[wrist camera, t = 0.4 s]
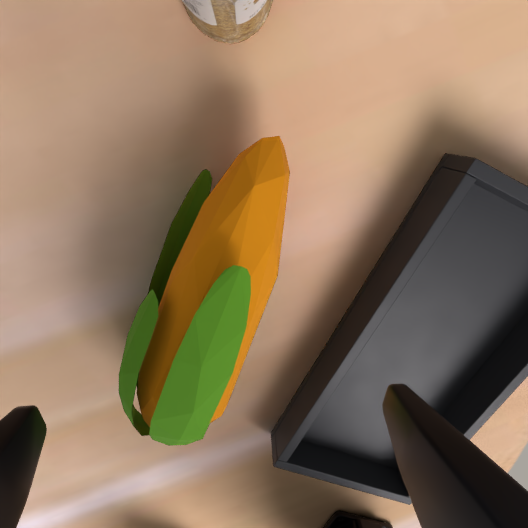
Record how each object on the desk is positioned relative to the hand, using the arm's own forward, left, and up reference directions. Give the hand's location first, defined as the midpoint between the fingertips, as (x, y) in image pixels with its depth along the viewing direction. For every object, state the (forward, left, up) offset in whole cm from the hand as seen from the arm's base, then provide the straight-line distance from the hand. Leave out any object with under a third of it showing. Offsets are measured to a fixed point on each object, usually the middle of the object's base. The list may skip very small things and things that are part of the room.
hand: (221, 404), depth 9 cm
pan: (-3, -16, -14) cm, 21 cm away
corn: (-4, 0, -14) cm, 15 cm away
